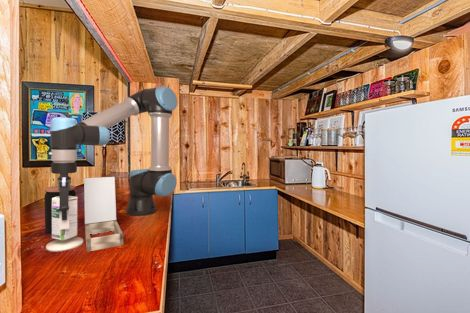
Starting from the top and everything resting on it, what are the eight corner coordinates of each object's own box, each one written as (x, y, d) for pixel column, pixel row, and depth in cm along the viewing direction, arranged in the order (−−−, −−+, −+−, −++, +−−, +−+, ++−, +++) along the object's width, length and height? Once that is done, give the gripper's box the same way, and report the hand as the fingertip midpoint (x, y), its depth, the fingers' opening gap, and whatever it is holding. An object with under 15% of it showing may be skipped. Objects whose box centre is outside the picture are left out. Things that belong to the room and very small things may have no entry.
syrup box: (50, 238, 88) (50, 197, 87) (67, 233, 94) (66, 194, 93) (62, 241, 86) (61, 199, 85) (78, 235, 92) (78, 195, 91)
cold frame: (116, 229, 106) (116, 220, 106) (123, 244, 91) (123, 234, 91) (85, 234, 100) (84, 224, 100) (86, 251, 85) (86, 240, 85)
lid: (116, 219, 106) (115, 219, 107) (114, 176, 109) (114, 177, 111) (84, 224, 100) (84, 224, 101) (84, 178, 103) (84, 178, 104)
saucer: (82, 237, 98) (82, 235, 98) (83, 247, 88) (83, 245, 88) (47, 242, 92) (47, 240, 92) (44, 254, 82) (44, 251, 82)
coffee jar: (60, 235, 99) (59, 190, 98) (38, 233, 101) (37, 188, 100) (82, 227, 109) (81, 186, 108) (61, 225, 111) (60, 184, 110)
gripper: (53, 160, 95) (54, 219, 96) (48, 164, 78) (49, 236, 79) (76, 159, 99) (77, 216, 100) (76, 163, 82) (77, 232, 83)
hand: (64, 225), depth 90 cm, fingers closed on syrup box, 8 cm apart
